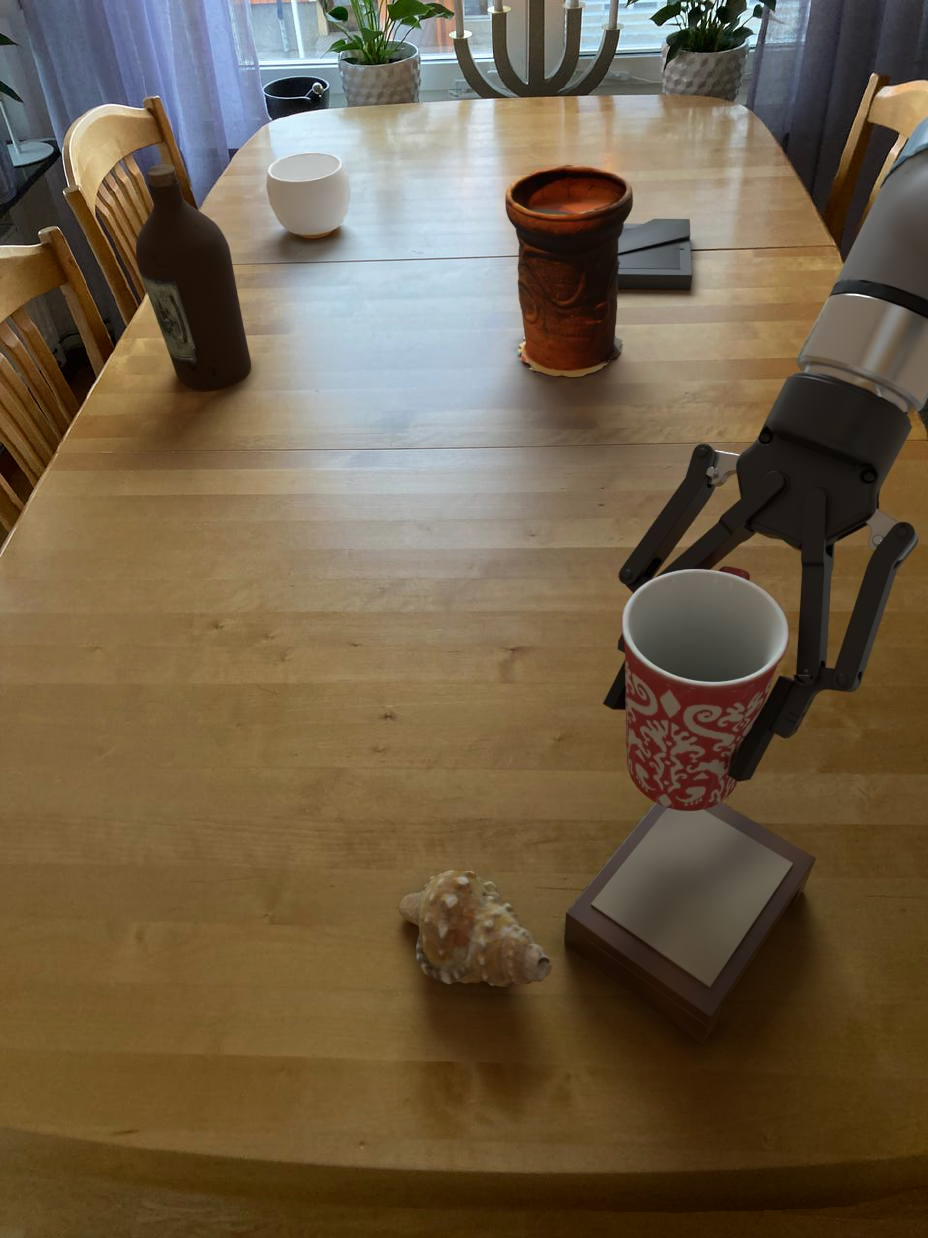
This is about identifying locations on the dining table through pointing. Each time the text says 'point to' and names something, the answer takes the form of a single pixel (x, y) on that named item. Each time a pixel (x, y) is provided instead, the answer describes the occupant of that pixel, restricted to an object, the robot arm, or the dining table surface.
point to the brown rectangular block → (686, 909)
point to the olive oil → (191, 288)
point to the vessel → (568, 265)
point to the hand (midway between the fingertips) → (675, 740)
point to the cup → (309, 193)
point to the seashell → (472, 933)
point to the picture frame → (655, 255)
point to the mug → (696, 680)
